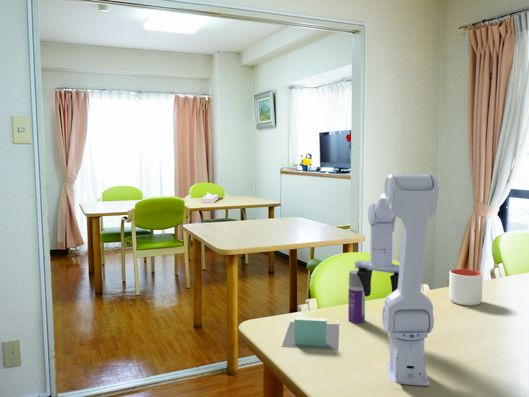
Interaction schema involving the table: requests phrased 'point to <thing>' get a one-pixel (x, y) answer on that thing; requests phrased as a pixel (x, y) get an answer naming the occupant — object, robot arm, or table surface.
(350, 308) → the container
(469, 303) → the cup
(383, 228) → the robot arm
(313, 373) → the table surface
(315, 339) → the tile
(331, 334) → the mat
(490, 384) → the table surface
